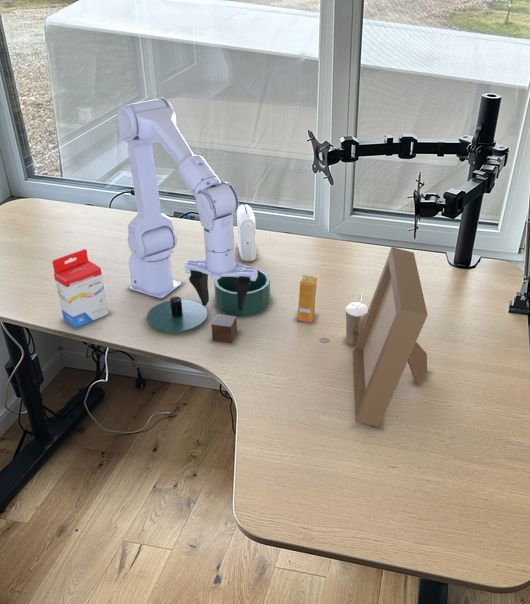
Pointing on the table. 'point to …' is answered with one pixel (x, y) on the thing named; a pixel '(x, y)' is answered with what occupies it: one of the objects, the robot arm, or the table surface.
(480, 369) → the table surface
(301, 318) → the supplement box
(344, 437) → the table surface
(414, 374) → the photo frame
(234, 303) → the tin
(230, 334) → the block
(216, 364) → the table surface
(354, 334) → the milkshake
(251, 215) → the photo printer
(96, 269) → the ink box
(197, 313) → the lid
